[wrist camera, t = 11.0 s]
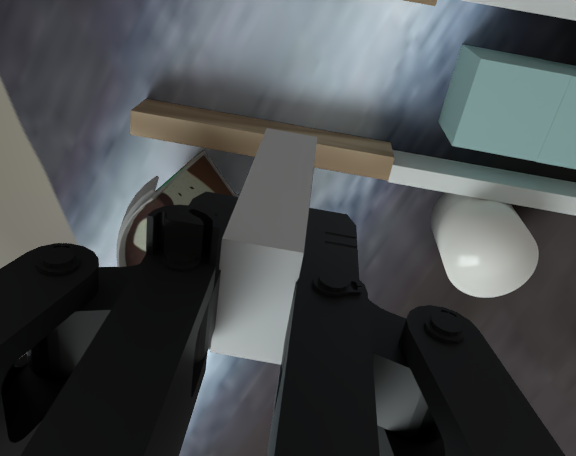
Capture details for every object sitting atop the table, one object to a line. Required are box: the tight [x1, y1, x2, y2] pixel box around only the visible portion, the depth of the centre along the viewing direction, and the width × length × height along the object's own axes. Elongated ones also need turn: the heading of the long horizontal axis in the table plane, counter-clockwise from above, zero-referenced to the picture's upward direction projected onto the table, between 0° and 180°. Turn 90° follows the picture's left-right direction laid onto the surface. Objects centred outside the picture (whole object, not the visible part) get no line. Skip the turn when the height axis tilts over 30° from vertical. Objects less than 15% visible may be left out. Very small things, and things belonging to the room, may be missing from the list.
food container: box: [117, 150, 237, 349], centre depth 36 cm, size 12×6×10 cm, turn 32°
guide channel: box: [130, 0, 437, 180], centre depth 32 cm, size 12×17×3 cm
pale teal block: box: [438, 44, 572, 161], centre depth 32 cm, size 5×5×5 cm
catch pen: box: [388, 0, 576, 215], centre depth 32 cm, size 12×16×3 cm
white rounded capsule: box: [431, 192, 539, 298], centre depth 35 cm, size 6×6×6 cm
